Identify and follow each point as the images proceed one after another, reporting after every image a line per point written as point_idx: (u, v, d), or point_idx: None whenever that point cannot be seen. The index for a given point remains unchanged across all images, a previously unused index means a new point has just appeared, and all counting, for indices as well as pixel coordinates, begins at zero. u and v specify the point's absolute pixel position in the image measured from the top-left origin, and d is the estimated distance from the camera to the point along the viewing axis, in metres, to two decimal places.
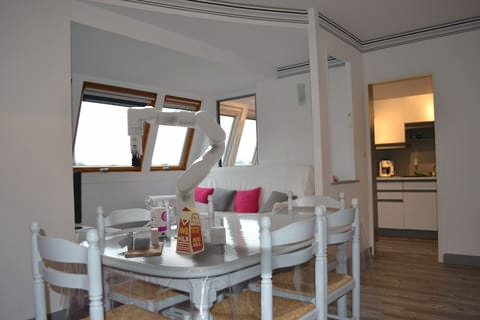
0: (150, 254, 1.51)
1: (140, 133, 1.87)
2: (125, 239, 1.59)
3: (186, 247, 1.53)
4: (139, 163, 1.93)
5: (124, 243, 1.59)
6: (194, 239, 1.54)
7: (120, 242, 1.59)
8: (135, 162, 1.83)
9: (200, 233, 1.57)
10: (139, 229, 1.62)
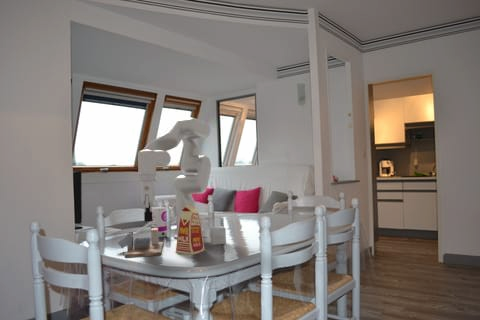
0: (150, 254, 1.51)
1: (153, 180, 1.61)
2: (125, 239, 1.59)
3: (186, 247, 1.53)
4: None
5: (124, 243, 1.59)
6: (194, 239, 1.54)
7: (120, 242, 1.59)
8: (148, 217, 1.61)
9: (200, 233, 1.57)
10: (139, 229, 1.62)
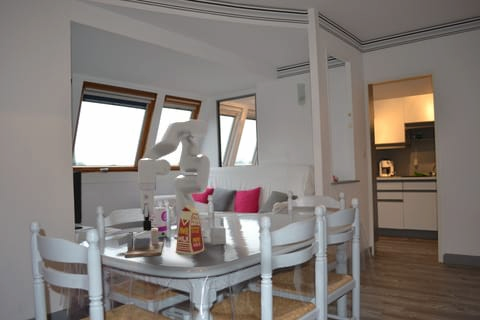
0: (150, 254, 1.51)
1: (153, 189, 1.60)
2: (125, 238, 1.59)
3: (186, 247, 1.53)
4: None
5: (123, 241, 1.59)
6: (194, 239, 1.54)
7: (119, 239, 1.59)
8: (147, 226, 1.60)
9: (200, 233, 1.57)
10: (141, 232, 1.62)
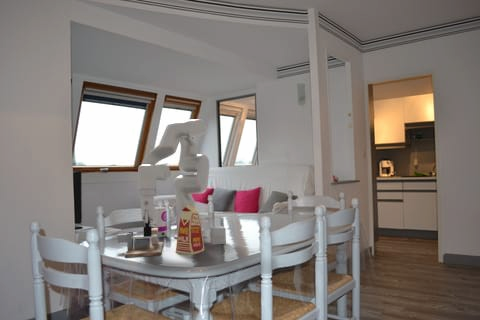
0: (150, 254, 1.51)
1: (153, 195, 1.60)
2: (125, 236, 1.59)
3: (186, 247, 1.53)
4: None
5: (122, 239, 1.59)
6: (194, 239, 1.54)
7: (119, 236, 1.59)
8: (148, 232, 1.60)
9: (200, 233, 1.57)
10: (142, 235, 1.62)
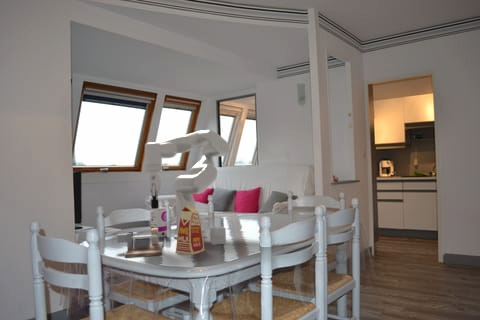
0: (150, 254, 1.51)
1: (159, 170, 1.74)
2: (125, 236, 1.59)
3: (186, 247, 1.53)
4: None
5: (122, 239, 1.59)
6: (194, 239, 1.54)
7: (119, 236, 1.59)
8: (155, 204, 1.74)
9: (200, 233, 1.57)
10: (142, 235, 1.62)
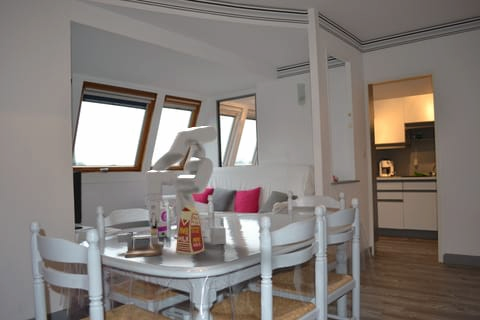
0: (150, 254, 1.51)
1: (159, 199, 1.71)
2: (125, 236, 1.59)
3: (186, 247, 1.53)
4: None
5: (122, 239, 1.59)
6: (194, 239, 1.54)
7: (119, 236, 1.59)
8: None
9: (200, 233, 1.57)
10: (142, 235, 1.62)
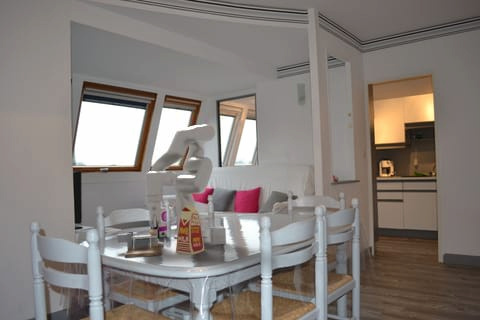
0: (150, 254, 1.51)
1: (160, 200, 1.70)
2: (125, 236, 1.59)
3: (186, 247, 1.53)
4: (158, 235, 1.72)
5: (122, 239, 1.59)
6: (194, 239, 1.54)
7: (119, 236, 1.59)
8: None
9: (200, 233, 1.57)
10: (142, 235, 1.62)
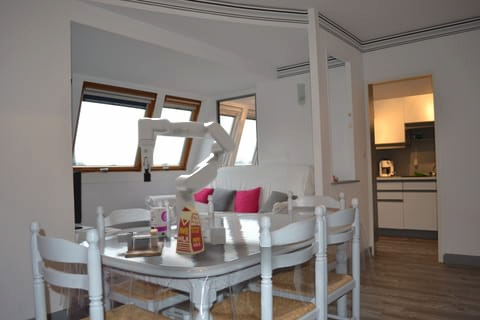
0: (150, 254, 1.51)
1: (151, 145, 1.80)
2: (125, 236, 1.59)
3: (186, 247, 1.53)
4: None
5: (122, 239, 1.59)
6: (194, 239, 1.54)
7: (119, 236, 1.59)
8: (147, 177, 1.80)
9: (200, 233, 1.57)
10: (142, 235, 1.62)
